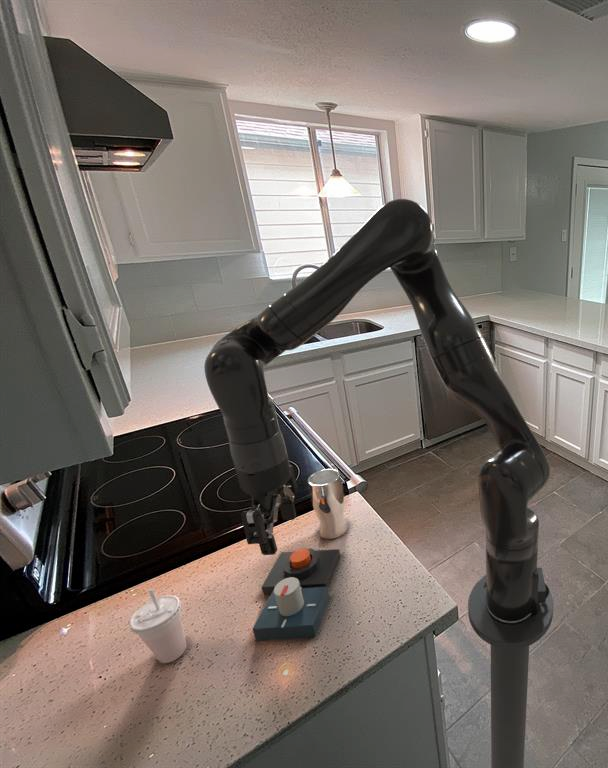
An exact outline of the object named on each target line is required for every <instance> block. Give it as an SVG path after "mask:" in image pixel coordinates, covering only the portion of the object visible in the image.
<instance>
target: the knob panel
mask: <svg viewBox="0 0 608 768" xmlns="http://www.w3.org/2000/svg"><path fill="white" fill-rule="evenodd" d="M301 591H302V596H303V600H304V605H303V607H302V608H301V610H300V611H299V612H297V613H296V614H294V615H291V616H283V615H281V614H280V612H279V608H278V605H277V601H276V598H275V594H274V590H273V591H272V593H271V595H269V596H268V599H267V601H266V603H265V605H264V607H263V608H262V610H261V612H260V614H259V616H258V618H257V619H256V621H255V623H254V625H253V627H252V632H253V636H254V639H255V641H256V642H262V641H274V640H289V639H303V638H305V639H306V638H315V637H316V636H317V634H318V631H319V628H320V626H321V623H322V620H323V617H324V615H325V612H326V609H327V607H328V604H329V601H330V598H331V597H330V592H329V588H328V587H315V588H302V587H301Z"/></svg>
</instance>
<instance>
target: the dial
mask: <svg viewBox="0 0 608 768" xmlns="http://www.w3.org/2000/svg"><path fill="white" fill-rule="evenodd" d="M274 594H275V598H276V601H277V605H278V608H279V612H280V614H281V615H283V616H291V615H294V614H296V613H297V612H299V611H300V610H301V608H302V607H303V605H304V600H303V596H302V591H301V587H300V583H299V580H298V579H297V578H294V577H289V578H286V579H283V580H282V581H280V582H279V583H278V584H277V585H276V586H275V588H274Z"/></svg>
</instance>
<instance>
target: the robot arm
mask: <svg viewBox="0 0 608 768" xmlns="http://www.w3.org/2000/svg"><path fill="white" fill-rule="evenodd" d="M433 225H434V224H433V222H432V220H431V216H430V215H429V213H428V211H427V210H426V208H424V207H423V206H422V205H421V204H420V203H418V202H417V201H414V200H412V199H409V198H396V199H392V200H389V201H387V202H386V203H384V204H383V205H382V206H380V207H379V208H378V209H377V210H376V211H375V212H374V213H373V214H372V215H371V216H370V217H369V218H368V219H367V220H366V221H365V223H364V224H362V225H361V227H360V228H359V229H358V230H357V231H356V232H355V233H354V234H353V236H351V237H350V238H349V239H348V240H347V241H346V242H345V243H344V244H343V245H342V246H341V247H340V248H339V249H338V250H337V251H336V252H335V253H334V254H332V256H331V257H329V259H327V260H326V261H324V263H323V264H322V265H320V266H319V267H318V268H317V269H316V270H315V271H314V272H313V273H311V274H310V275H309V276H307V277H306V278H305V279H303V280H302V281H301V282H299V283H298V284H296V286H294V287H292V288H291V289H290V290H289V291H287V292H286V293H284V294H283V295H282V296H281V297H279V298H278V299H276V300H275V301H274V302H272V303H271V304H270V305H268V306H267V307H266V308H265V309H263V310H262V312H260V313H259V314H258V315H257V316H255V317H253V318H251V319H249V320H248V321H246V322H244V323H243V324H241V325H239V326H237V327H236V328H234V329H233V330H231V331H230V332H229V333H227V334H226V335H224V336H223V337H221V338H220V339H218V340H217V342H216V343H215V344H214V345H213V347H212V348H211V350H210V352H209V353H208V354H207V356H206V358H205V361H204V367H203V370H204V375H205V379H206V383H207V386H208V389H209V391H210V393H211V396H212V398H213V399H214V401H215V404H216V405H217V407H218V409H219V411H220V412H221V414H222V420H223V425H224V428H225V432H226V436H227V438H228V442H229V443H228V444H229V451H230V457H231V460H232V463H233V464H232V465H233V467H234V470H235V474H236V477H237V481H238V485H239V488H240V490H242V492H243V493H246V494H247V495H249V496H250V497H251V508H250V509H249V510H243V511H242V512H241V513H240V519H241V522H242V526H243V530H244V535H245V539H246V542H247V543H246V544H247V545H257V544H258V545H259V549H260V553H261V555H263V556H273V555H276V553H277V551H278V545H277V543H276V539H275V535H274V525H275V523H277V522H278V517H279V515H278V514H279V509H280V513H281V517H282V520H283V521H293V520H295V519H296V518H297V512H296V507H295V504H294V503H295V502H294V501H295V500H296V499H295V496H296V495H295V494H294V493H298V484H297V480H296V476H295V472H294V468H293V465H292V464H290V459H289V456H288V451H287V447H286V442H285V439H284V435H283V434H282V431H281V428H280V423H279V420H278V415H277V411H276V407H275V404H274V402H273V400H272V398H270V396H269V392H268V387H267V384H266V379H265V378H266V377H265V371H264V370H265V367H266V366H267V365H269V364H270V363H271V362H272V361H274V360H275V359H277V358H278V357H279V356H280V355H282V354H284V353H285V352H286V351H294V350H295V349H297V348H299V347H301V346H302V345H304V344H305V343H306V342H307V341H309V340H310V339H312V338H313V337H315V335H317V334H318V333H320V332H321V331H322V330H323V329H325V328H326V327H327V326H328V325H330V324H331V323H332V322H333V321H334V320H335V319H336V318H337V317H338V316H339V315H340V314H341V313H342V312H343V310H344V309H345V308H346V307H347V306H348V305H349V304H350V302H351V301H352V300H353V298H354V297H355V296H356V295H357V294H358V293H359V291H361V290H362V289H363V288H364V287H365V286H366V285H367V284H368V283H369V282H371V281H372V280H373V279H374V278H375V277H377V276H378V275H380V274H381V273H382V272H384V271H386V270H387V269H390V270H391V272H392V273H393V275H394V276H395V278H396V280H397V282H398V284H399V285H400V286H401V288H402V290H403V291H404V293H405V295H406V297H407V298H408V299H407V300H408V301H409V303H410V304H411V307H412V309H413V313H414V314H415V319H416V322H417V325H418V327H419V331H420V334H421V337H422V340H423V342H424V345H425V348H426V350H427V352H428V355H429V357H430V359H431V361H432V364H433V366H434V368H435V370H436V373H437V375H438V376H439V378H440V380H441V382H442V384H443V385H444V387H445V389H446V390H447V391H448V392H449V394H451V395H452V396H453V397H454V398H455V399H457V400H458V401H459V402H460V403H461V404H463V405H464V406H466V407H467V408H469V409H470V410H471V411H473V413H475V414H476V415H477V416H479V418H481V419H482V420H483V421H484V423H485V424H486V425H487V427H488V428H489V430H490V432H491V433H492V435H493V438H494V439H495V441H496V443H497V446H498V449H499V451H497V452H496V453H495V454H493V455H492V456H491V457H489V458H488V459H486V460H485V461H484V462H483V463H482V465H481V466H480V469H479V472H478V482H477V483H478V499H479V508H480V509H479V511H480V518H481V520H482V523H483V525H484V528H485V575H486V582H485V584H484V589H485V586H486V607H487V610H488V612H489V614H490V615H491V616H492V617H493V618H494V619H495V620H496V621H498V622H500V623H503V624H508V625H514V624H519V623H522V622H524V621H526V620H527V619H528V618H529V617H530V616H532V615H537V603H538V602H546V598H547V597H548V595H549V590H550V588H549V586H548V585H547V583H546V582H545V578H544V577H545V576H544V572H543V568H542V567H538V553H539V552H538V551H539V535H540V534H539V533H540V520H539V517H538V515H537V513H536V511H534V510H533V509H532V508H531V507H529V506H528V503H529V502H530V501H531V500H532V499H533V498H534V497H535V496H536V495H537V494H538V493H540V491H541V490H542V489H543V488H544V487H545V486H546V484H547V483H548V482H549V479H550V475H551V470H550V469H551V468H550V464H549V463H550V462H549V460H548V458H547V455H546V453H545V451H544V449H543V448H542V447H541V445H540V443H539V441H538V440H537V437H536V436H535V434H534V432H533V431H532V429H531V427H530V426H529V424H528V423H527V421H526V420H525V418H524V416H523V414H522V413H521V410H520V409H519V408H518V406H517V404H516V402H515V400H514V398H513V396H512V394H511V392H510V390H509V388H508V386H507V384H506V382H505V380H504V378H503V376H502V374H501V371H500V370H499V368H498V366H497V363H496V361H495V359H494V356H493V354H492V352H491V349H490V348H489V346H488V343H487V341H486V340H485V337H484V335H483V333H482V331H481V330H480V328H479V326H478V325H477V323H476V321H475V320H474V318H473V317H472V315H471V314H470V312H469V311H468V309H467V308H466V307H465V305H464V304H463V303H462V301H461V299H459V297H458V296H457V295H456V293H455V291H454V290H453V288H452V286H451V284H450V282H449V280H448V278H447V275H446V271H445V269H444V267H443V264H442V261H441V259H440V256H439V253H438V250H437V246H436V240H435V239H436V238H435V231H434V226H433ZM287 484H290V485H287ZM265 515H270V516H269V518H265ZM265 524H266V526H265Z"/></svg>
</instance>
